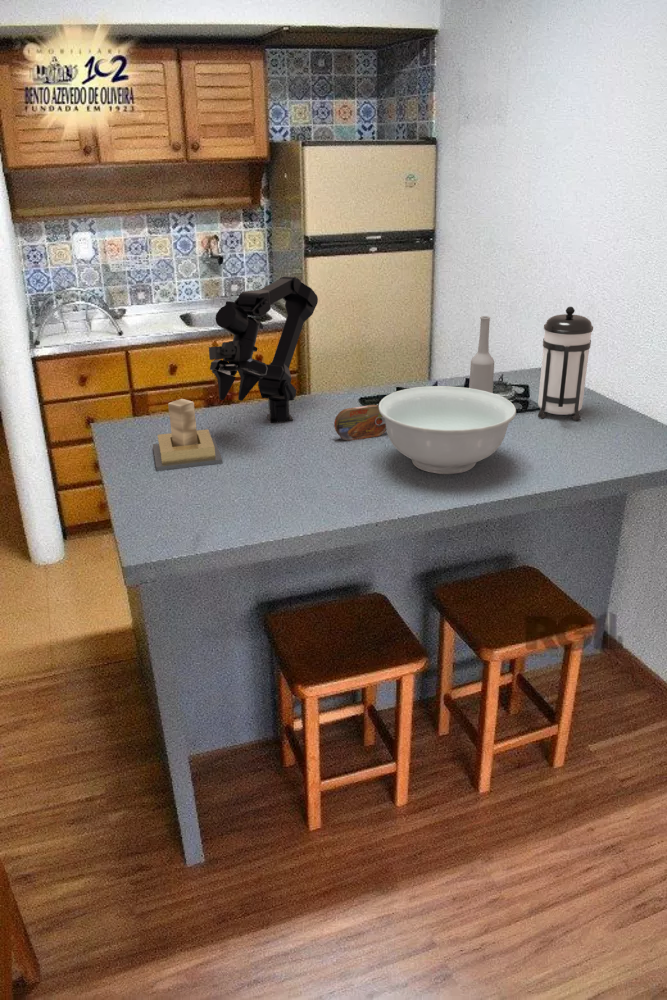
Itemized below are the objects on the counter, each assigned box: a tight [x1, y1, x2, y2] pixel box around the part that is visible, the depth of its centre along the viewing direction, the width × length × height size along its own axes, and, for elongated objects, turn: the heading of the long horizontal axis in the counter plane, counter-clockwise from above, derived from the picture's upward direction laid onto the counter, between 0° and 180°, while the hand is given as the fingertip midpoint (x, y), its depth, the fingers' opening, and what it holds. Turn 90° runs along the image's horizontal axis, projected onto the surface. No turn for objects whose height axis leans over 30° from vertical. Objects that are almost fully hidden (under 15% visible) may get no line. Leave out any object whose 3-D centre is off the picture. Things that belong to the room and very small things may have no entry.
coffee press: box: [537, 306, 594, 422], centre depth 212 cm, size 17×16×30 cm
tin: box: [333, 404, 387, 442], centre depth 205 cm, size 15×3×8 cm, turn 109°
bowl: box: [378, 385, 517, 475], centre depth 186 cm, size 32×32×15 cm
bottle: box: [468, 315, 495, 394], centre depth 213 cm, size 7×7×28 cm
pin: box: [167, 398, 198, 447], centre depth 194 cm, size 4×4×13 cm
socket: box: [152, 429, 223, 471], centre depth 196 cm, size 16×16×4 cm
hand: (230, 400), depth 197 cm, fingers open, 9 cm apart
